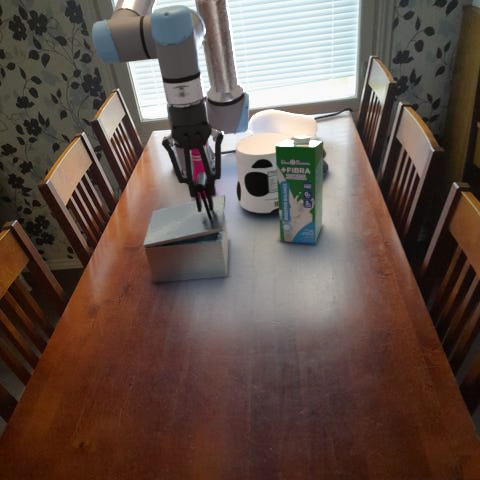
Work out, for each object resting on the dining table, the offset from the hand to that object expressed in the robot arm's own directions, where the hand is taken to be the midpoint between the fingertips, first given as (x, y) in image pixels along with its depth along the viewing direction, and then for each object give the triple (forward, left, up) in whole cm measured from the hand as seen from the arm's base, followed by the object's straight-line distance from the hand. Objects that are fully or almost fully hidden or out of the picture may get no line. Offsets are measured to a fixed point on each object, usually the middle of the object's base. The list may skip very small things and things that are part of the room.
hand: (205, 208), depth 105 cm
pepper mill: (-16, -32, -14) cm, 38 cm away
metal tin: (+5, -3, -14) cm, 15 cm away
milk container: (-26, -13, -14) cm, 33 cm away
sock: (-58, -47, -14) cm, 76 cm away
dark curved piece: (-45, -22, -14) cm, 53 cm away
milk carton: (-23, +6, -14) cm, 28 cm away
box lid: (+4, -3, -3) cm, 6 cm away
